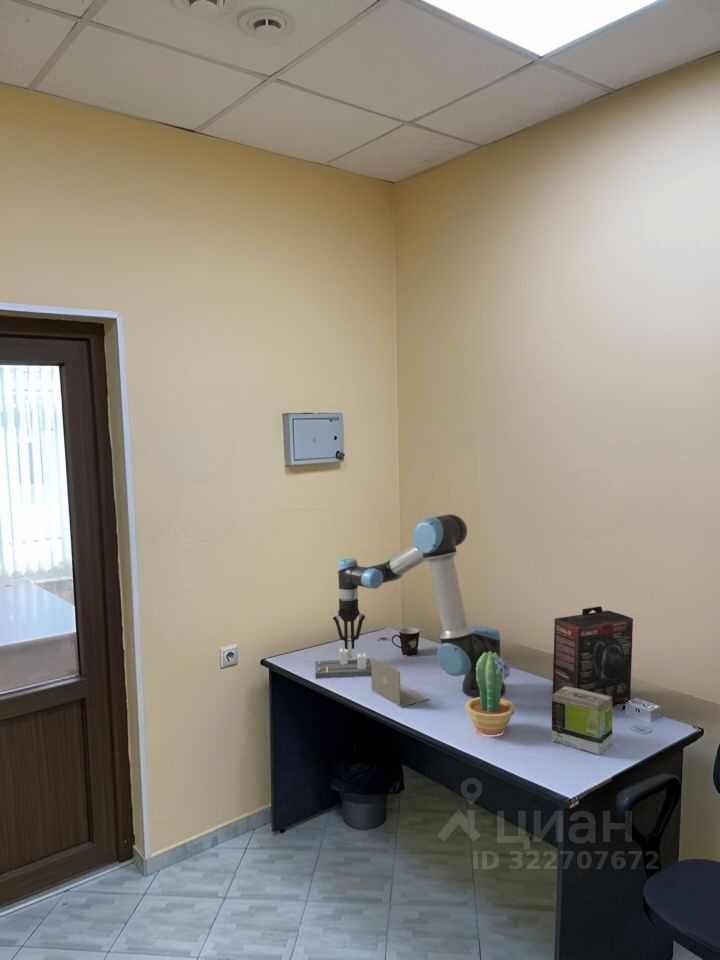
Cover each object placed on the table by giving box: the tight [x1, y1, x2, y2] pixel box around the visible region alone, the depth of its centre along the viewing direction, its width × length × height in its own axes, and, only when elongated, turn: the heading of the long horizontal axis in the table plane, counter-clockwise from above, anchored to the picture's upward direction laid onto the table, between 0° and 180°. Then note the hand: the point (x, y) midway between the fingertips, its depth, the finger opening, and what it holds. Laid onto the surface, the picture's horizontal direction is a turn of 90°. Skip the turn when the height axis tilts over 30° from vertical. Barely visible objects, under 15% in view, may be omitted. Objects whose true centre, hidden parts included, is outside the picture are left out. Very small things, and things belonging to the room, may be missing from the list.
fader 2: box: [357, 652, 367, 670], centre depth 270 cm, size 4×3×5 cm
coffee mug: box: [391, 627, 421, 657], centre depth 292 cm, size 12×9×10 cm
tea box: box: [551, 686, 613, 755], centre depth 208 cm, size 15×10×15 cm
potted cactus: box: [464, 651, 516, 735], centre depth 216 cm, size 15×15×25 cm
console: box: [314, 658, 371, 679], centre depth 273 cm, size 14×22×2 cm, turn 94°
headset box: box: [552, 605, 634, 706], centre depth 236 cm, size 24×13×33 cm, turn 115°
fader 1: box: [339, 647, 349, 664], centre depth 276 cm, size 4×3×5 cm
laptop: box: [370, 657, 430, 708], centre depth 247 cm, size 18×12×13 cm
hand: (349, 656), depth 277 cm, fingers closed
